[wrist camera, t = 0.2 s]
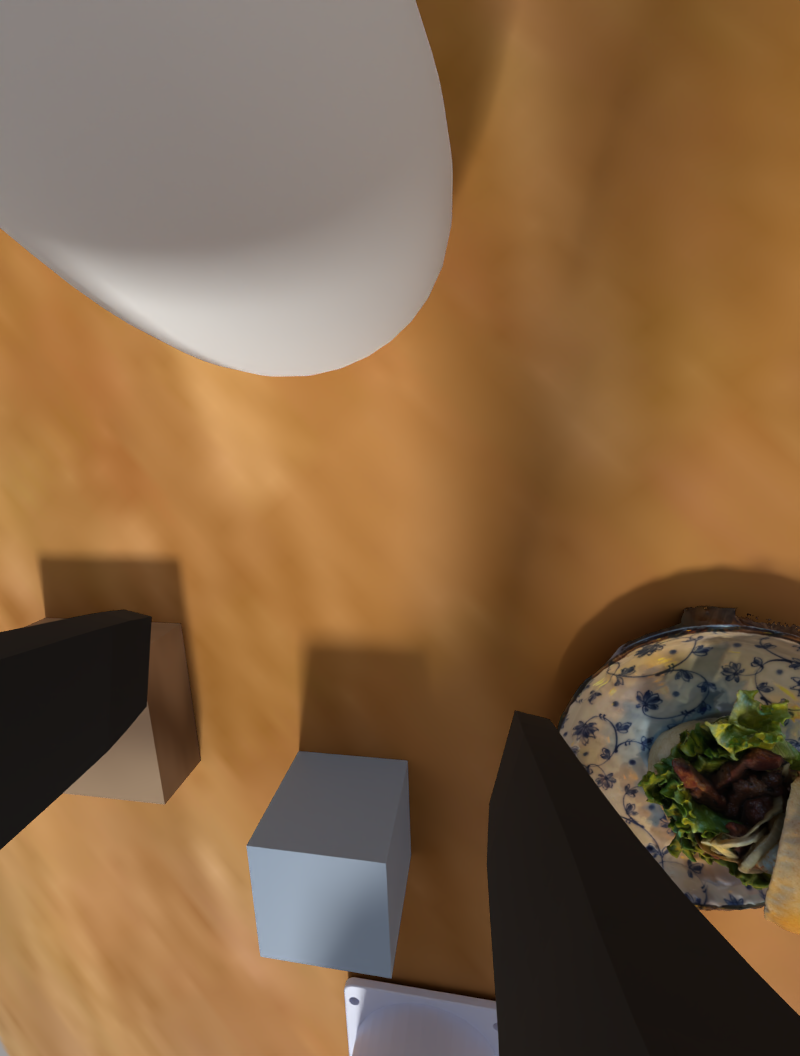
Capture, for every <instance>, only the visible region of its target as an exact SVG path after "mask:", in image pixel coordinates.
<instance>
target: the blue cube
mask: <svg viewBox="0 0 800 1056" xmlns="http://www.w3.org/2000/svg"><path fill="white" fill-rule="evenodd" d="M247 853H248V861H249V869H250V877H251V885H252V893H253V901H254V909H255V917H256V925H257V933H258V941H259V949H260V956H261V957H267V958H273V959H279V960H284V961H290V962H296V963H302V964H308V965H314V966H320V967H326V968H332V969H338V970H344V971H350V972H356V973H361V974H367V975H373V976H379V977H385V978H391V979H392V973H393V966H394V960H395V954H396V947H397V941H398V935H399V929H400V922H401V916H402V910H403V903H404V897H405V891H406V884H407V878H408V872H409V866H410V859H411V837H410V808H409V780H408V761H406V760H395V759H384V758H372V757H361V756H349V755H338V754H327V753H315V752H304V751H299V752H298V753H297V755H296V757H295V759H294V761H293V762H292V764H291V766H290V768H289V770H288V772H287V773H286V775H285V777H284V779H283V781H282V782H281V784H280V786H279V788H278V790H277V791H276V793H275V795H274V797H273V799H272V801H271V802H270V804H269V806H268V808H267V810H266V811H265V813H264V815H263V817H262V819H261V820H260V822H259V824H258V826H257V828H256V830H255V831H254V833H253V835H252V837H251V839H250V840H249V842H248V844H247Z"/></svg>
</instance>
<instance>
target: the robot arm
mask: <svg viewBox="0 0 800 1056" xmlns="http://www.w3.org/2000/svg"><path fill="white" fill-rule="evenodd" d="M151 622H152V617H151V616H147V615H143V614H139V613H135V612H132V611H128V610H116V611H107V612H100V613H94V614H89V615H83V616H78V617H73V618H67V619H62V620H58V621H53V622H48V623H43V624H38V625H33V626H28V627H24V628H19V629H14V630H9V631H4V632H0V850H1V849H2V848H3V847H4V846H5V845H6V844H7V843H8V842H9V841H10V840H12V839H13V838H14V837H15V836H16V835H17V834H18V833H19V832H20V831H22V830H23V829H24V828H25V827H26V826H27V825H28V824H29V823H30V822H31V821H33V820H34V819H35V818H36V817H37V816H38V815H39V814H40V813H41V812H42V811H44V810H45V809H46V808H47V807H48V806H49V805H50V804H51V803H52V802H54V801H55V800H56V799H57V798H58V797H59V796H60V795H61V794H62V793H63V792H65V791H66V790H67V789H68V788H69V787H70V786H71V785H72V784H73V783H74V782H76V781H77V780H78V779H79V778H80V777H81V776H82V775H83V774H84V773H85V772H86V771H87V770H89V769H90V768H91V767H92V766H93V765H94V764H95V763H96V762H97V761H98V760H99V759H100V758H101V757H102V756H104V755H105V754H106V753H107V752H108V751H109V750H110V749H111V747H112V746H113V745H114V744H115V743H116V742H117V741H118V740H119V739H120V737H121V736H122V735H123V734H124V733H125V732H126V731H127V730H128V728H129V727H130V726H131V725H132V724H133V722H134V721H135V720H136V719H137V718H138V716H139V715H140V714H141V713H142V711H143V710H144V709H145V708H146V707H147V695H148V677H149V659H150V640H151ZM487 874H488V890H489V906H490V922H491V936H492V951H493V966H494V981H495V995H496V1001H492V1000H486V999H480V998H474V997H469V996H463V995H457V994H451V993H445V992H439V991H433V990H427V989H422V988H416V987H410V986H404V985H398V984H392V983H386V982H380V981H375V980H369V979H363V978H357V977H351V978H349V979H348V980H347V981H346V984H345V989H344V995H345V1008H346V1021H347V1033H348V1046H349V1056H800V1016H799V1015H798V1014H797V1013H796V1012H795V1011H794V1010H793V1009H792V1008H791V1007H790V1006H789V1005H788V1004H787V1003H786V1002H785V1001H784V1000H783V999H782V998H781V997H780V996H779V995H778V994H777V993H776V992H775V991H774V990H773V989H772V988H771V987H770V986H769V985H768V983H767V982H766V981H765V980H764V979H763V978H762V977H761V976H760V975H759V974H758V973H757V972H756V971H755V970H754V969H753V968H752V967H751V966H750V965H749V964H748V963H747V962H746V961H745V959H744V958H743V957H742V956H741V955H740V954H739V953H738V952H737V951H736V950H735V949H734V948H733V947H732V945H731V944H730V943H729V942H728V941H727V940H726V939H725V938H724V937H723V936H722V935H721V934H720V933H719V932H718V930H717V929H716V928H715V927H714V926H713V925H712V924H711V923H710V922H709V921H708V920H707V919H706V918H705V917H704V915H703V914H702V913H701V912H700V911H699V910H698V909H697V908H696V907H695V905H694V904H693V903H692V902H691V901H690V900H689V899H688V897H687V896H686V895H685V894H684V893H683V892H682V891H681V890H680V888H679V887H678V886H677V885H676V884H675V883H674V881H673V880H672V879H671V878H670V877H669V875H668V874H667V873H666V872H665V871H664V869H663V868H662V867H661V866H660V865H659V863H658V862H657V861H656V860H655V859H654V857H653V856H652V855H651V854H650V852H649V851H648V850H647V849H646V848H645V846H644V845H643V844H642V843H641V842H640V840H639V839H638V838H637V837H636V835H635V834H634V833H633V832H632V830H631V829H630V828H629V826H628V825H627V824H626V823H625V821H624V820H623V819H622V818H621V816H620V815H619V814H618V812H617V811H616V810H615V808H614V807H613V806H612V804H611V803H610V802H609V800H608V799H607V798H606V796H605V795H604V794H603V792H602V791H601V790H600V788H599V787H598V786H597V784H596V783H595V782H594V780H593V779H592V778H591V776H590V775H589V773H588V772H587V771H586V769H585V768H584V766H583V765H582V764H581V762H580V761H579V759H578V758H577V757H576V755H575V754H574V752H573V751H572V750H571V748H570V747H569V745H568V744H567V743H566V741H565V740H564V738H563V737H562V736H561V734H560V733H559V731H558V730H557V729H556V727H555V726H554V725H553V723H552V722H551V721H550V719H547V718H543V717H539V716H535V715H531V714H527V713H523V712H519V711H516V710H515V712H514V716H513V720H512V723H511V727H510V731H509V734H508V738H507V741H506V745H505V749H504V752H503V756H502V760H501V763H500V767H499V770H498V774H497V778H496V781H495V785H494V789H493V792H492V796H491V799H490V803H489V823H488V847H487Z"/></svg>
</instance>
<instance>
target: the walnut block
mask: <svg viewBox="0 0 800 1056" xmlns="http://www.w3.org/2000/svg"><path fill="white" fill-rule="evenodd" d="M62 619H65V618H44V619H42V620H39V621H37V622H35V623H33V624H31V625H28V626H33V625H38V624H43V623H48V622H53V621H58V620H62ZM28 626H26V627H28ZM200 761H201V759H200V752H199V745H198V738H197V731H196V724H195V717H194V710H193V703H192V696H191V689H190V682H189V676H188V669H187V662H186V655H185V648H184V641H183V634H182V627H181V623H159V622H151V640H150V659H149V677H148V695H147V707H146V708H145V709H144V710H143V711H142V713H141V714H140V715H139V716H138V718H137V719H136V720H135V721H134V722H133V724H132V725H131V726H130V727H129V728H128V730H127V731H126V732H125V733H124V734H123V735H122V736H121V737H120V739H119V740H118V741H117V742H116V743H115V744H114V745H113V746H112V747H111V749H110V750H109V751H108V752H107V753H106V754H105V755H104V756H102V757H101V758H100V759H99V760H98V761H97V762H96V763H95V764H94V765H93V766H92V767H91V768H90V769H89V770H87V771H86V772H85V773H84V774H83V775H82V776H81V777H80V778H79V779H78V780H77V781H76V782H74V783H73V784H72V785H71V786H70V787H69V788H68V789H67V790H66V791H65V792H63V793H66V794H75V795H84V796H93V797H102V798H111V799H120V800H129V801H138V802H147V803H156V804H166V802H167V801H168V800H169V799H170V798H171V796H172V795H173V794H174V793H175V791H176V790H177V789H178V788H179V786H180V785H181V784H182V783H183V782H184V780H185V779H186V778H187V777H188V775H189V774H190V773H191V772H192V771H193V769H194V768H195V767H196V766H197V764H198V763H199V762H200Z"/></svg>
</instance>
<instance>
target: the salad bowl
mask: <svg viewBox="0 0 800 1056" xmlns="http://www.w3.org/2000/svg"><path fill="white" fill-rule="evenodd" d="M704 607H707V609H704ZM686 609H688V610H686ZM736 609H737V608H717V607H710V606H697V607H695V608H692V607H690V608H685V609H684V614H683V616H682V618H681V623H680V624H678V625H675V626H672V627H670V628H666V629H662V630H659V631H657V632H653V633H649V634H645V635H644V636H642V637H640V638H638V639H635V640H633V641H629V642H627V643H626V644H624V645H622V646H620V647H619V648H618V650H617V651H616V652H615V653H614V654H613V656H612V657H611V658H610V659H609V660H608V661H607V662H606V663H605V664H604V665H603V666H602V667H601V668H600V669H599V670H598V671H597V672H596V673H594V674H593V675H592V676H590V677H589V678H588V679H586V680H585V681H584V682H583V683H582V684H581V685H580V687H579V688H578V690H577V691H576V693H575V694H574V696H573V697H572V699H571V700H570V702H569V704H568V705H567V707H566V709H565V711H564V712H563V714H562V716H561V718H560V722H559V726H558V729H557V730H558V731H559V733H560V734H561V736H562V737H563V738H564V740H565V741H566V743H567V744H568V745H569V747H570V748H571V750H572V751H573V752H574V754H575V755H576V757H577V758H578V759H579V761H580V762H581V764H582V765H583V766H584V768H585V769H586V771H587V772H588V773H589V775H590V776H591V778H592V779H593V780H594V782H595V783H596V784H597V786H598V787H599V788H600V790H601V791H602V792H603V794H604V795H605V796H606V798H607V799H608V800H609V802H610V803H611V804H612V806H613V807H614V808H615V810H616V811H617V812H618V814H619V815H620V816H621V818H622V819H623V820H624V821H625V823H626V824H627V825H628V826H629V828H630V829H631V830H632V832H633V833H634V834H635V835H636V837H637V838H638V839H639V840H640V842H641V843H642V844H643V845H644V846H645V848H646V849H647V850H648V851H649V852H650V854H651V855H652V856H653V857H654V859H655V860H656V861H657V862H658V863H659V865H660V866H661V867H662V868H663V869H664V871H665V872H666V873H667V874H668V875H669V877H670V878H671V879H672V880H673V881H674V883H675V884H676V885H677V886H678V887H679V888H680V890H681V891H682V892H683V893H684V894H685V895H686V896H687V897H688V899H689V900H690V901H691V902H692V903H693V904H694V905H695V907H696V908H697V909H698V910H706V911H711V910H726V911H731V910H742V909H750V908H751V909H757V908H762V907H763V906H765V908H764V914H765V915H764V917H765V919H766V920H768V921H770V922H773V923H774V924H776V925H777V926H779V927H781V928H783V929H784V930H786V931H789V932H792V933H795V934H799V935H800V631H797V629H800V627H799V626H796V625H794V624H793V625H792V626H791V627H789V626H788V625H786V627H784V625H782V626H781V625H780V622H778V623H777V625H776V624H774V622H775V621H774V622H773V623H772V624H770V623H768V624H767V623H763V622H762V623H757V622H754V621H753V620H751V619H749V618H748V617H745V618H742V617H738V616H737V617H736V616H735V610H736ZM748 615H750V616H751V614H749V613H747V616H748ZM756 619H758V618H757V617H756ZM766 620H767V619H766ZM770 620H771V619H768V621H770ZM768 621H767V622H768ZM785 624H786V623H785ZM771 626H772V627H771ZM796 627H797V628H796ZM795 628H796V629H795Z"/></svg>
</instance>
